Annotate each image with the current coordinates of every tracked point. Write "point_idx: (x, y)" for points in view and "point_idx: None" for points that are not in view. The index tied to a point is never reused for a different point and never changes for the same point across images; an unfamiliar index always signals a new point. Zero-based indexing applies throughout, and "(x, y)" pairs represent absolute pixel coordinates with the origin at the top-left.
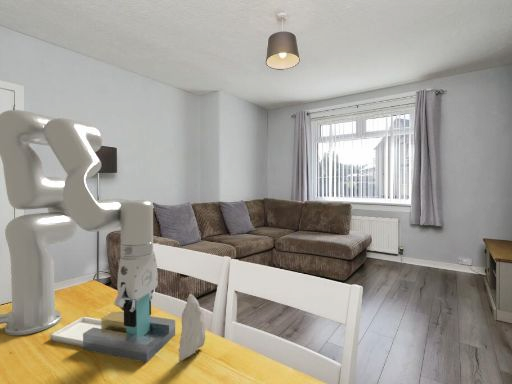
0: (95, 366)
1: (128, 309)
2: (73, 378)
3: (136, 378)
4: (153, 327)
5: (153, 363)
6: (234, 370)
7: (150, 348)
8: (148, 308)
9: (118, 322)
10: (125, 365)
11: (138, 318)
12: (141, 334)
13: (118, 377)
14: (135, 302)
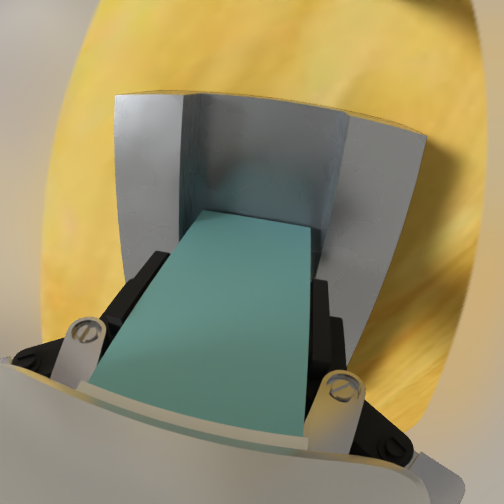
0: (411, 304)
1: (366, 410)
2: (454, 326)
3: (483, 131)
4: (189, 198)
5: (400, 91)
6: None
7: (386, 122)
8: (159, 289)
9: None
10: (416, 206)
11: (289, 298)
12: (272, 228)
13: (475, 200)
14: (306, 427)
